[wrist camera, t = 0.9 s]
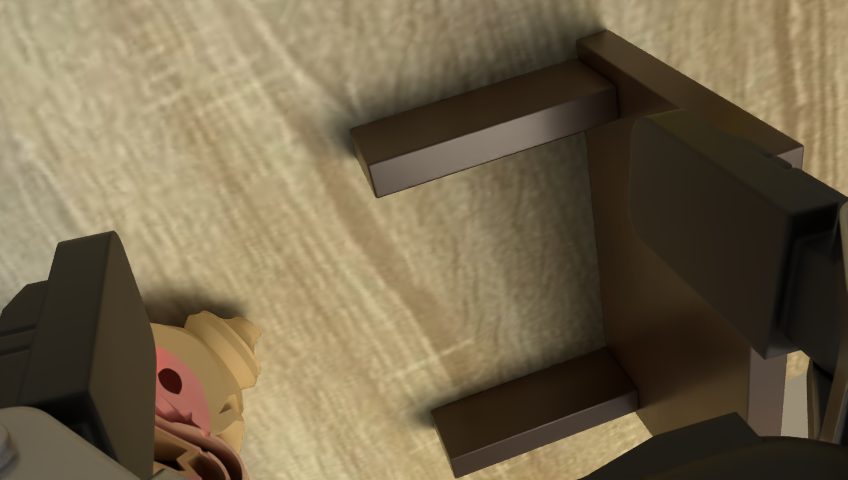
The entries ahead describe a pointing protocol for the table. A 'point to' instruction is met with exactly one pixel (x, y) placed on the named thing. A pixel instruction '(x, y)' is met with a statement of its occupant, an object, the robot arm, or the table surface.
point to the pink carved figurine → (203, 395)
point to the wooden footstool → (616, 249)
